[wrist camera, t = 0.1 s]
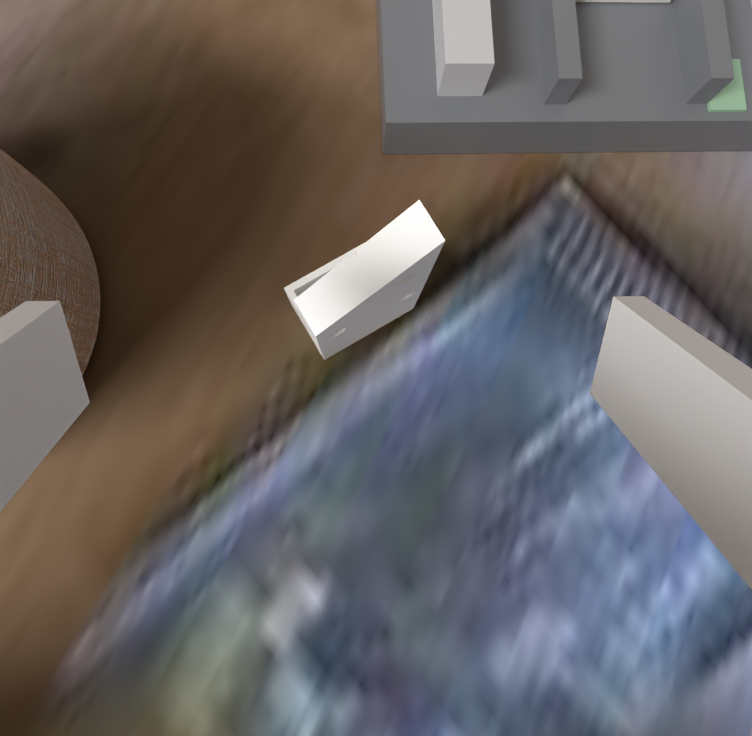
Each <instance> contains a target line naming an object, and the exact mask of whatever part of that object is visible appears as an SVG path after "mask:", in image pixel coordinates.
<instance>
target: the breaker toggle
mask: <svg viewBox="0 0 752 736" xmlns="http://www.w3.org/2000/svg"><path fill="white" fill-rule="evenodd" d="M670 1H671V0H575V2H633V3H669V2H670Z"/></svg>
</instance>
